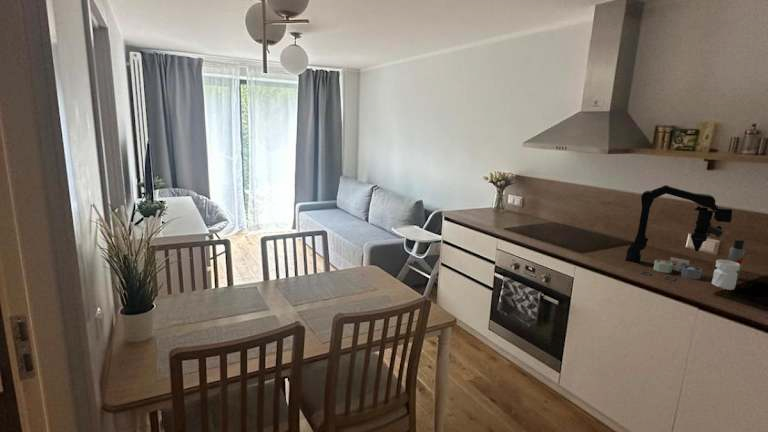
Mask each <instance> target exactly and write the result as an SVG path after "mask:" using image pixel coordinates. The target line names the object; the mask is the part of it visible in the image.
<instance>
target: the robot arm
mask: <svg viewBox="0 0 768 432" xmlns="http://www.w3.org/2000/svg"><path fill="white" fill-rule="evenodd" d="M664 195H669V196H673V197H677V198H681V199H684V200H688V201H691V202H693V203H696V204H697V206H696V207H694V208H693V209H694V211H697V217H696V221H695V227H694V229H693V232H692V233H691V235H690V239H691V241H692V244H693V247H694V251H695V252H699V250H700V249H701V248H702V245H703V243H705V242H706V241H707V239H708V237H710V234H712V235H713V236H715V237H717V238H721V236H722V235H723V233H724V229H723V227H722V225H717V226H715V225H713V223H712V219H713V220H715V222H719V223H726V224H727V223H729V224H730V223H731V222H732V219H733V216H732V215H733V209H732V208H723V207H722V208H720V207H718V205H717V204H716V199H715V197H714V196H713V195H711V194H707V193H697V192H691V191H687V190H684V189H680V188H676V187H672V186H669V185H667V184H665V185H662V186H660V187H658V188H655V189H653V190H645V191H643V192H642V194H641V197H640V199H641V212H640V217H639V224H638V229H637V234H636V237H635V238H634V241H633V242H631V243H630V244H628V247H627V248H628V249H627V250H626V257H625V259H624V261H626V262H630V263H634V264H635V263H636V264H639V263H641V262H642V259H643V258H642V256H643V253H642V251H643V250H644V249H646V247H647V246H648V244H649V243H648V242H649V241H648V240H649V235H647V233H646V232H647V227H648V221H649V217H650V210H651V207H652V205H653V202H654V199H657V198H659V197H661V196H664ZM701 206H702V207H701Z"/></svg>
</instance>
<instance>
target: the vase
mask: <svg viewBox="0 0 768 432" xmlns="http://www.w3.org/2000/svg"><path fill="white" fill-rule="evenodd" d="M715 267H716V268H715V269H714V270H713V275H712V280H711V284H712V285H713V286H716V287H717V288H721V289H722V290H725V289H726V290H727V291H732V290H735V288H736V286H737V280H738V279H737V275H738V274H737V273H736V271H738V270H739V268H740V264H739V263H737V262H733V261H729V260H728V259H716V260H715Z"/></svg>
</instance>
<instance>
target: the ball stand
mask: <svg viewBox="0 0 768 432" xmlns="http://www.w3.org/2000/svg"><path fill="white" fill-rule="evenodd" d="M640 274H641V275H646V276H651V275H652V271H647V270H646V271H645V270H642V271H640ZM663 280H667V281H672V282H674V281H675V280H676V277H672V276H668V275H665V276H664V277H663Z"/></svg>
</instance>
